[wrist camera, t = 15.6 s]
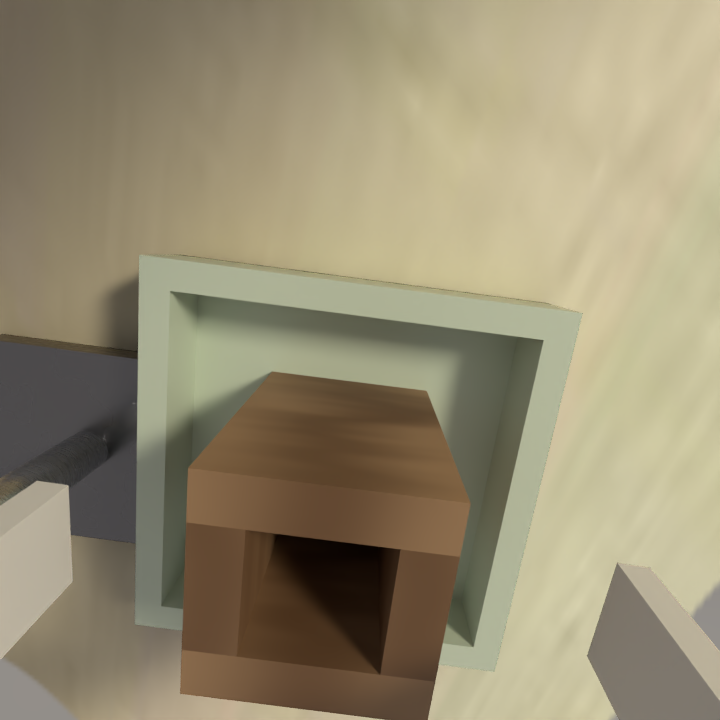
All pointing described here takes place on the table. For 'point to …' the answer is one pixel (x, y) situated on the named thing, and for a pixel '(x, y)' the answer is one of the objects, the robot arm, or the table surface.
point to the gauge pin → (72, 429)
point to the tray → (358, 364)
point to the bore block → (322, 550)
